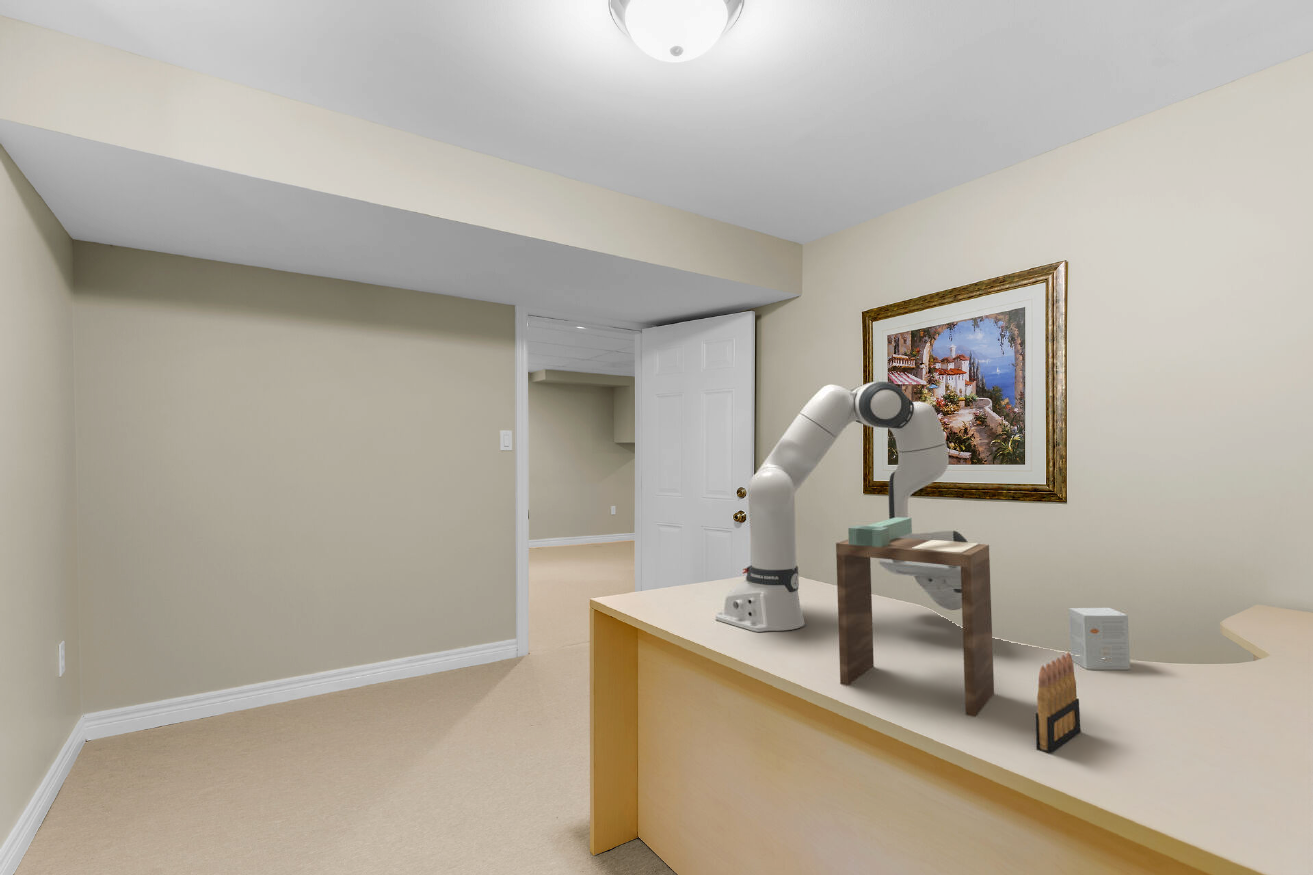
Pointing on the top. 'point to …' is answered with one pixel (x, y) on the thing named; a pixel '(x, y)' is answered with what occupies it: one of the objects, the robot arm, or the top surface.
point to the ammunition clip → (1057, 705)
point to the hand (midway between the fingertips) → (916, 551)
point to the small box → (1099, 638)
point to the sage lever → (880, 532)
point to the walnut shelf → (974, 607)
